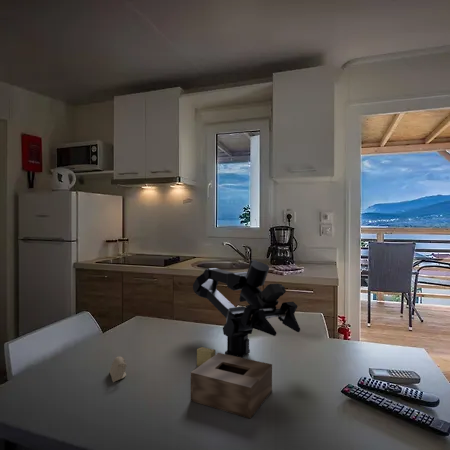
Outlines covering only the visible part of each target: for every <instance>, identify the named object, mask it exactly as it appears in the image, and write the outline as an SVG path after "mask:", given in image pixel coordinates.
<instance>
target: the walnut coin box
mask: <svg viewBox="0 0 450 450" xmlns="http://www.w3.org/2000/svg"><path fill="white" fill-rule="evenodd" d="M272 391H273V364H271V363H267V362H264V361H258V360H254V359H249V358H245V357H239V356H234V355H229V354H225V353H221V352H217V353H215V355H214V356H213V357H212V358H210V359H209V360H207V361H206V362H205V363H203V364H202V365H200V366H197V367H196V368H195V369H194V370H192V371H191V372H190V401H191V402H194V403H197V404H200V405H203V406H206V407H207V406H208V407H210V408H213V409H217V410H220V411H223V412H227V413H230V414H233V415H237V416H239V417H242V418H246V419H252V418H253V416H254V415H255V414H256V413H257V411H259V409H260V408H261V406H262V405H263V403H264V402H265V401H266V400H267V398H268V397H269V395H270V394H271V393H272Z"/></svg>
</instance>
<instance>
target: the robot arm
mask: <svg viewBox="0 0 450 450" xmlns="http://www.w3.org/2000/svg"><path fill="white" fill-rule="evenodd" d="M249 261H250V262H249V266H248V269H247V271H240V272H233V271H229V270H224V269H220V268H218V267H211V268H210V267H209V268H206V269H204V271H203V272H202V274H200V275H199V276H198V277H196V279H195V280H194V282H193V284H192V289H193V290H192V291H193V292H194V293H195V295H197V296H198V297H200V298H204V299H207V300H208V301H209V302H210V304H212V305H213V306H214V307H215V308H216V309H217V310H218V311H219V313H220V314H221V315H222V316H223V317H224V318H225V319H226V320H225V321H226V322H225V324H224V325H223V327H222V333H223V335H224V336H226V339H227V341H226V342H227V343H226V347H227V348H226V349H227V350H225V351H224V354H226V355H231V356H235V357H240V358H244V356H245V355H247V354H248V353H249V352H250V351H251V350H250V339H249V335H251V334H252V333H253V329H254V330H257V331H260V332H263V333H266V334H268V335H269V336H270V335H271V336H273V337H276V336H277V334H278V333H277V331H276V329H275V328H274V327H273V325H272V324H271V323H270V321H269V320H268V319H271V318H277V319H278V320H279V321H280V322H281V323H282V325H284V326H286V327H288V328H289V329H291V330H293V331H295V332H297V333H300V331H301V327H300V325H299V322H298V321H297V319H296V315H295V312H296V311H297V309H298V305H297V304H296V303H295V302H294V301H283V302H282V303H281V306H280V307H279V308H277V305H278V304H279V299H280V297H282V296H284V295H285V294H286V292H287V291H286V290H287V289H286V287H285V286H284V285H282V284H280V283H268V284H267V285H266V286H265V287H264V289H263V290H261V288H260V287H262V286H264V285H265V282H266V278H267V277H268V273H269V270H270V266H269V265H268V264H266V263H264V262H261V261H257V260H256V259H251V260H249ZM219 283H222V284H225V285H226V287H227V288H228V289H230V290H231V291H234V292H235V291H240V293H239V302H240V303H242V302H246V303H247V304H248V305H247V304H246V306H244V305H242V306H235V305H234V304H233V303H231V301H230V300H228V298H226V297H225V296H224V294H222V293H221V292H220V291H219V290H218V289H217V288H218V285H219Z"/></svg>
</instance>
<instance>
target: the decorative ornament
mask: <svg viewBox="0 0 450 450" xmlns="http://www.w3.org/2000/svg"><path fill="white" fill-rule="evenodd" d="M127 367H128V364H127V362H126V360H125V358H124V357H122V356H116V357H115V358H114V359H113V362H112V363H111V367H110V370H109V375H110V377H111V381H112V383H115V382H117V381H119V380H122V379H124V378H126V377H127V373H126V368H127Z"/></svg>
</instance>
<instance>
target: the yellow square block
mask: <svg viewBox="0 0 450 450" xmlns="http://www.w3.org/2000/svg"><path fill="white" fill-rule="evenodd" d="M214 355H216V349H213V348H210V347H209V348H208V347H203V346H201V347H198V348H197V349H196V366H197V367H199V366H200V365H202V364H203V363H205V362H206V361H207V360H209V359H210V358H212V357H213V356H214Z"/></svg>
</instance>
